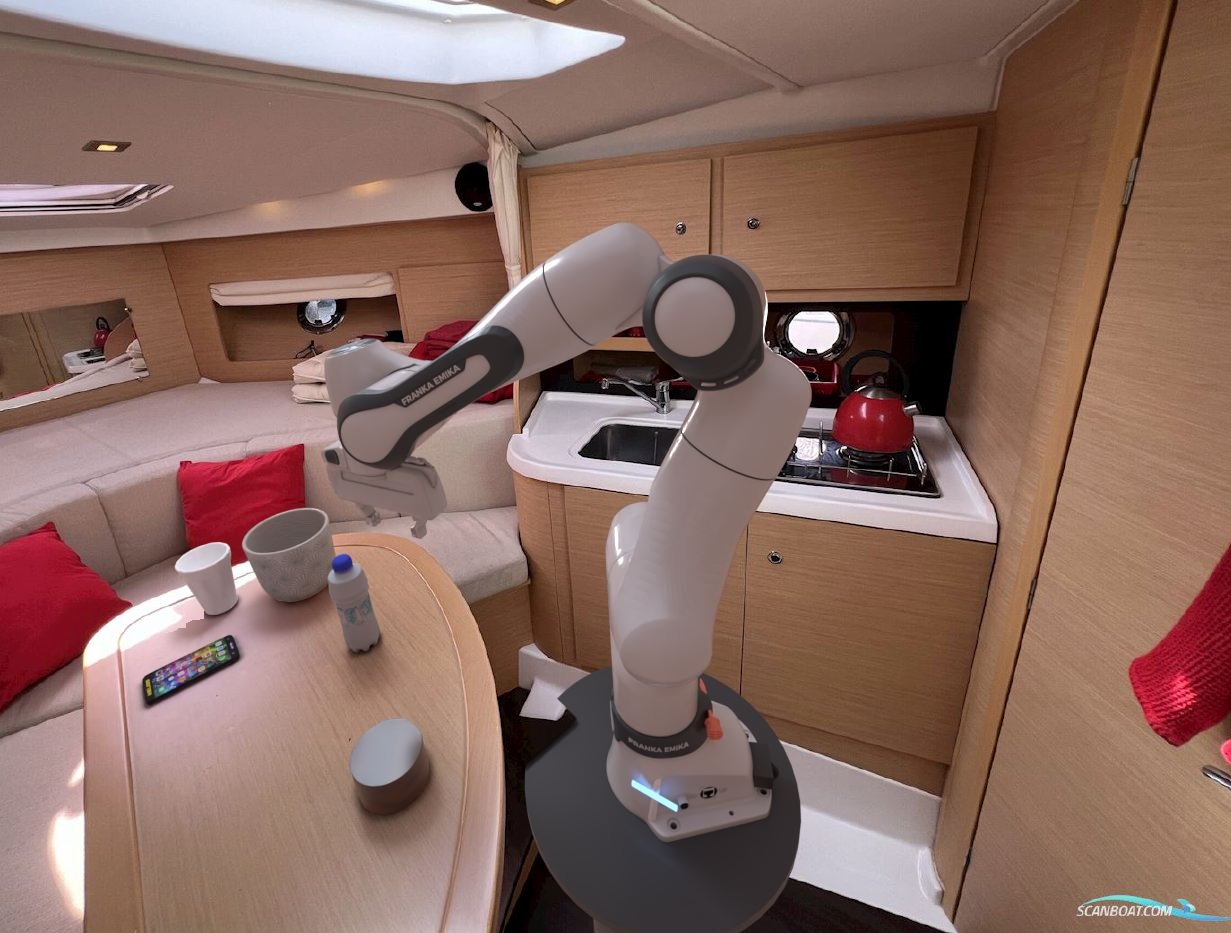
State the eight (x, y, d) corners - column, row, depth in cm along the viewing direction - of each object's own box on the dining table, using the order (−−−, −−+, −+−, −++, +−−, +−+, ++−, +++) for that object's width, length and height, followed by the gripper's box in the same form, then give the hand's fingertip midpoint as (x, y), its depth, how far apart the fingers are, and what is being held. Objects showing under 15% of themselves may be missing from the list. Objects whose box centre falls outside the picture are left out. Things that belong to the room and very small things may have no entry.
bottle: (344, 638, 105) (318, 553, 97) (379, 624, 107) (357, 541, 100) (349, 662, 99) (322, 574, 92) (385, 646, 102) (362, 560, 94)
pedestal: (436, 744, 83) (429, 716, 81) (419, 814, 74) (411, 785, 71) (373, 746, 83) (364, 718, 81) (348, 815, 74) (337, 787, 72)
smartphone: (240, 655, 102) (144, 704, 93) (241, 658, 102) (146, 708, 93) (231, 632, 107) (141, 676, 99) (233, 636, 108) (143, 680, 99)
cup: (257, 598, 118) (239, 549, 113) (210, 629, 110) (189, 578, 105) (232, 584, 123) (214, 537, 118) (186, 613, 115) (165, 563, 110)
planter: (359, 579, 121) (343, 522, 115) (285, 626, 109) (263, 565, 103) (321, 553, 131) (304, 499, 126) (249, 593, 120) (228, 536, 114)
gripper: (447, 449, 76) (462, 531, 81) (345, 433, 86) (365, 507, 91) (417, 470, 71) (436, 556, 76) (312, 450, 80) (335, 528, 86)
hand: (396, 529), depth 84 cm, fingers open, 8 cm apart
